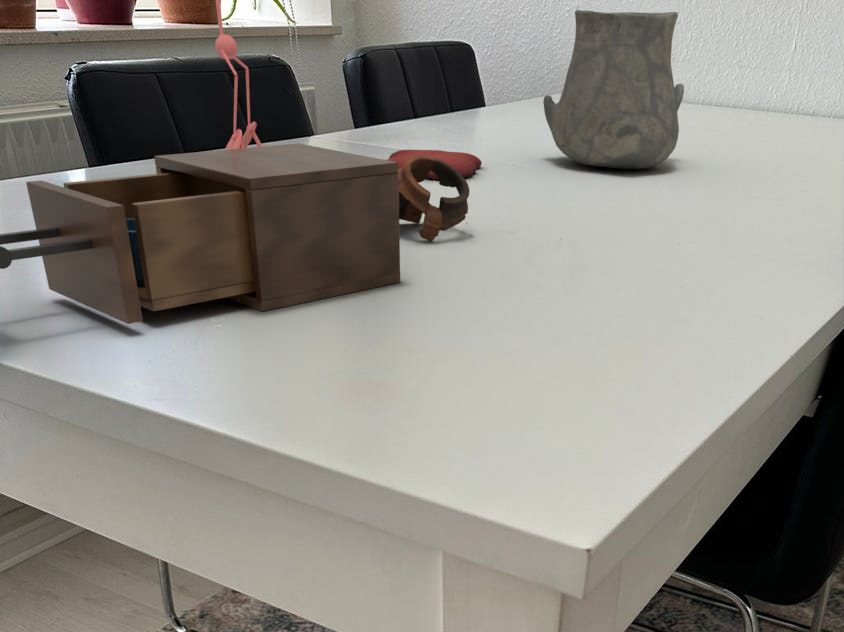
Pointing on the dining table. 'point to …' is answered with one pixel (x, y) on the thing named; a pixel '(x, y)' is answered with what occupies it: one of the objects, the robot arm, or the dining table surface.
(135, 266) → the blue cup
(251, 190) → the cabinet
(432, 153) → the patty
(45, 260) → the drawer
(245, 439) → the dining table surface
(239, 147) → the figurine
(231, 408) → the dining table surface
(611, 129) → the vessel
